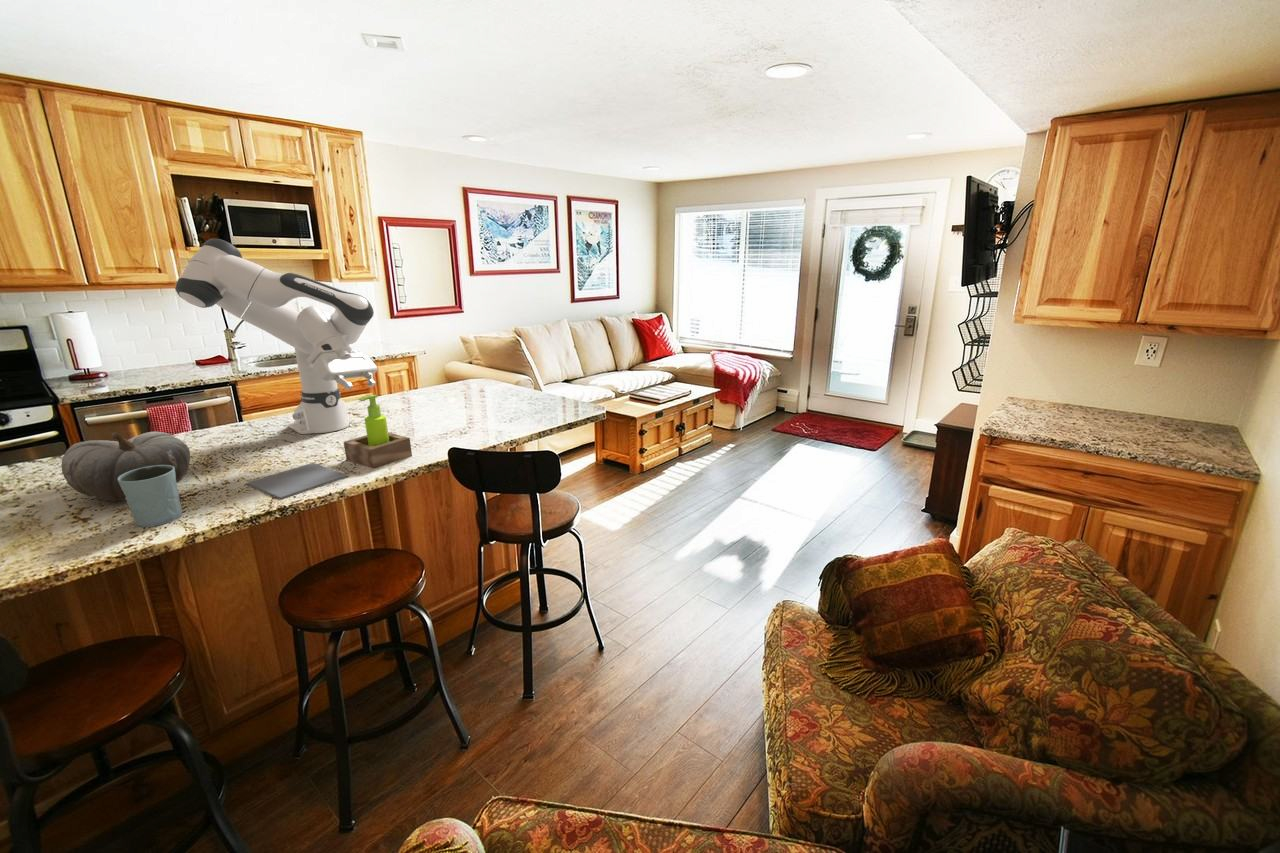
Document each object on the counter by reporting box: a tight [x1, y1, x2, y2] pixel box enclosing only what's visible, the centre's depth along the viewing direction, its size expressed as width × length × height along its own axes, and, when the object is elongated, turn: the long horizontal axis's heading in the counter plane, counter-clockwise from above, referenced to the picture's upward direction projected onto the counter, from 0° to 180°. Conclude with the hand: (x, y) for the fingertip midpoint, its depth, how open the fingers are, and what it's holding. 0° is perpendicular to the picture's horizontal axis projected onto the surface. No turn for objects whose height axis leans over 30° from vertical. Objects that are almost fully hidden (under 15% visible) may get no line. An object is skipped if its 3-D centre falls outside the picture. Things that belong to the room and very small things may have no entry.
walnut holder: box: [343, 431, 413, 470], centre depth 170 cm, size 14×13×6 cm
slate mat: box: [246, 462, 348, 500], centre depth 154 cm, size 18×18×1 cm
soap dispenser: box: [357, 394, 389, 447], centre depth 168 cm, size 6×7×20 cm
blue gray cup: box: [118, 465, 183, 528], centre depth 130 cm, size 10×10×12 cm
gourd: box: [61, 431, 191, 502], centre depth 145 cm, size 25×25×17 cm
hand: (361, 386), depth 170 cm, fingers open, 8 cm apart
